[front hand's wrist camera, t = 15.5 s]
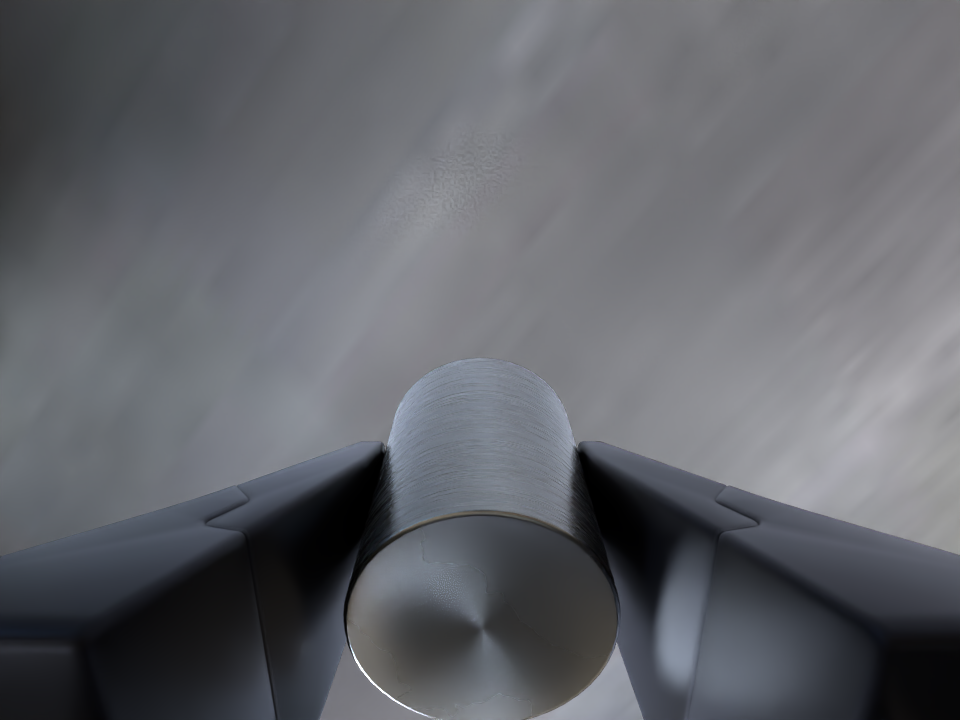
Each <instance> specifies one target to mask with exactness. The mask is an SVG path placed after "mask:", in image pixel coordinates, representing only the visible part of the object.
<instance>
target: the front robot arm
mask: <svg viewBox="0 0 960 720" xmlns="http://www.w3.org/2000/svg"><path fill="white" fill-rule="evenodd" d="M577 451H578V454H579V458H580V462H581V465H582V469H583V472H584V476H585V479H586V483H587V486H588V490H589V493H590V497H591V501H592V504H593V508H594V511H595V515H596V518H597V522H598V525H599V529H600V532H601V536H602V539H603V543H604V547H605V550H606V554H607V557H608V561H609V564H610V568H611V571H612V575H613V578H614V582H615V586H616V589H617V593H618V598H619V603H620V615H621V621H620V629H619V635H618V638H617V644H618V646H619V649H620V652H621V655H622V658H623V661H624V664H625V667H626V669H627V672H628V675H629V678H630V681H631V684H632V687H633V690H634V692H635V695H636V698H637V701H638V704H639V707H640V710H641V713H642V715H643V718H644V720H960V555H958V554H954V553H951V552H947V551H944V550H941V549H937V548H934V547H930V546H927V545H923V544H920V543H917V542H913V541H910V540H906V539H903V538H899V537H896V536H893V535H889V534H886V533H882V532H879V531H875V530H872V529H869V528H865V527H862V526H858V525H855V524H851V523H848V522H845V521H841V520H838V519H834V518H831V517H827V516H824V515H821V514H817V513H814V512H810V511H807V510H803V509H800V508H797V507H794V506H790V505H787V504H784V503H781V502H777V501H774V500H771V499H768V498H765V497H762V496H759V495H756V494H753V493H750V492H747V491H744V490H741V489H738V488H735V487H732V486H726V485H724V484H721V483H718V482H715V481H712V480H710V479H707V478H704V477H701V476H698V475H695V474H692V473H689V472H687V471H684V470H681V469H678V468H675V467H672V466H669V465H667V464H664V463H661V462H658V461H655V460H652V459H649V458H646V457H644V456H641V455H638V454H635V453H632V452H629V451H626V450H624V449H621V448H618V447H615V446H612V445H609V444H606V443H603V442H595V441H582V442H580V443H579V445H578V450H577ZM384 454H385V447H384V444H383V443H382V442H380V441H368V442H359V443H356V444H353V445H350V446H348V447H345V448H342V449H339V450H336V451H333V452H331V453H328V454H325V455H322V456H319V457H316V458H313V459H311V460H308V461H305V462H302V463H299V464H296V465H294V466H291V467H288V468H285V469H282V470H279V471H277V472H274V473H271V474H268V475H265V476H262V477H259V478H257V479H254V480H251V481H248V482H245V483H242V484H240V485H238V486H237V487H236V486H231V487H229V488H226V489H223V490H220V491H217V492H214V493H211V494H208V495H205V496H202V497H199V498H196V499H193V500H190V501H187V502H183V503H180V504H177V505H174V506H170V507H167V508H164V509H161V510H157V511H154V512H150V513H147V514H144V515H140V516H137V517H133V518H130V519H127V520H123V521H120V522H116V523H113V524H110V525H106V526H103V527H99V528H96V529H93V530H89V531H86V532H82V533H79V534H75V535H72V536H69V537H65V538H62V539H58V540H55V541H52V542H48V543H45V544H41V545H38V546H35V547H31V548H28V549H24V550H21V551H18V552H14V553H11V554H7V555H4V556H1V557H0V720H319V719H320V716H321V713H322V710H323V708H324V705H325V702H326V699H327V696H328V693H329V690H330V687H331V684H332V681H333V678H334V676H335V673H336V670H337V667H338V664H339V661H340V658H341V655H342V652H343V649H344V646H345V644H346V641H347V639H346V635H345V631H344V620H343V612H344V601H345V597H346V594H347V590H348V586H349V582H350V579H351V575H352V571H353V568H354V564H355V560H356V557H357V553H358V550H359V546H360V542H361V539H362V535H363V531H364V528H365V524H366V520H367V517H368V513H369V509H370V506H371V502H372V498H373V495H374V491H375V487H376V484H377V480H378V476H379V473H380V469H381V465H382V462H383V458H384Z"/></svg>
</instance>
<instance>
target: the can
mask: <svg viewBox="0 0 960 720" xmlns="http://www.w3.org/2000/svg"><path fill="white" fill-rule="evenodd" d="M343 620H344V631H345V635H346V639H347V643H348V646H349V648H350V651H351V653H352V655H353V658H354V660H355V661H356V663H357V665H358V666H359V668H360V669H361V671H362V672H363V673H364V675H365V676H366V677H367V678H368V679H369V681H370V682H371V683H372V684H373V685H374V686H376V687H377V688H378V689H379V690H380V691H381V692H382V693H384V694H385V695H386V696H388V697H389V698H391V699H392V700H393V701H395V702H397V703H398V704H400V705H402V706H404V707H406V708H407V709H409V710H412V711H414V712H417V713H419V714H421V715H424V716H427V717H430V718H434V719H437V720H526V719H530V718H534V717H537V716H539V715H542V714H545V713H547V712H550V711H552V710H554V709H556V708H558V707H560V706H562V705H564V704H566V703H567V702H569V701H570V700H572V699H573V698H575V697H576V696H578V695H579V694H580V693H581V692H582V691H584V690H585V689H586V688H587V687H588V686H589V685H590V684H591V683H592V682H593V681H594V680H595V679H596V678H597V677H598V676H599V675H600V673H601V672H602V670H603V669H604V667H605V666H606V664H607V663H608V661H609V659H610V657H611V655H612V653H613V651H614V648H615V645H616V641H617V638H618V635H619V629H620V621H621V615H620V603H619V598H618V593H617V589H616V586H615V582H614V578H613V575H612V571H611V568H610V564H609V561H608V557H607V554H606V550H605V547H604V543H603V539H602V536H601V532H600V529H599V525H598V522H597V518H596V515H595V511H594V508H593V504H592V501H591V497H590V493H589V490H588V486H587V483H586V479H585V476H584V472H583V469H582V465H581V462H580V458H579V454H578V451H577V447H576V444H575V440H574V437H573V433H572V430H571V426H570V423H569V419H568V416H567V413H566V410H565V408H564V406H563V404H562V402H561V400H560V398H559V397H558V395H557V394H556V393H555V391H554V390H553V389H552V388H551V387H550V386H549V385H548V384H547V383H546V382H545V381H544V380H543V379H542V378H540V377H539V376H538V375H536V374H535V373H534V372H532V371H530V370H528V369H526V368H525V367H522V366H520V365H517V364H515V363H512V362H509V361H505V360H501V359H494V358H469V359H462V360H458V361H453V362H450V363H448V364H445V365H442V366H440V367H438V368H436V369H434V370H432V371H431V372H429V373H428V374H426V375H425V376H423V377H422V378H421V379H420V380H418V381H417V382H416V383H415V384H414V385H413V386H412V387H411V388H410V390H409V391H408V392H407V393H406V394H405V396H404V398H403V399H402V401H401V403H400V404H399V407H398V409H397V411H396V414H395V418H394V421H393V425H392V429H391V432H390V436H389V440H388V443H387V447H386V451H385V454H384V458H383V462H382V465H381V469H380V473H379V476H378V480H377V484H376V487H375V491H374V495H373V498H372V502H371V506H370V509H369V513H368V517H367V520H366V524H365V528H364V531H363V535H362V539H361V542H360V546H359V550H358V553H357V557H356V560H355V564H354V568H353V571H352V575H351V579H350V582H349V586H348V590H347V594H346V597H345V601H344V612H343Z"/></svg>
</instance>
